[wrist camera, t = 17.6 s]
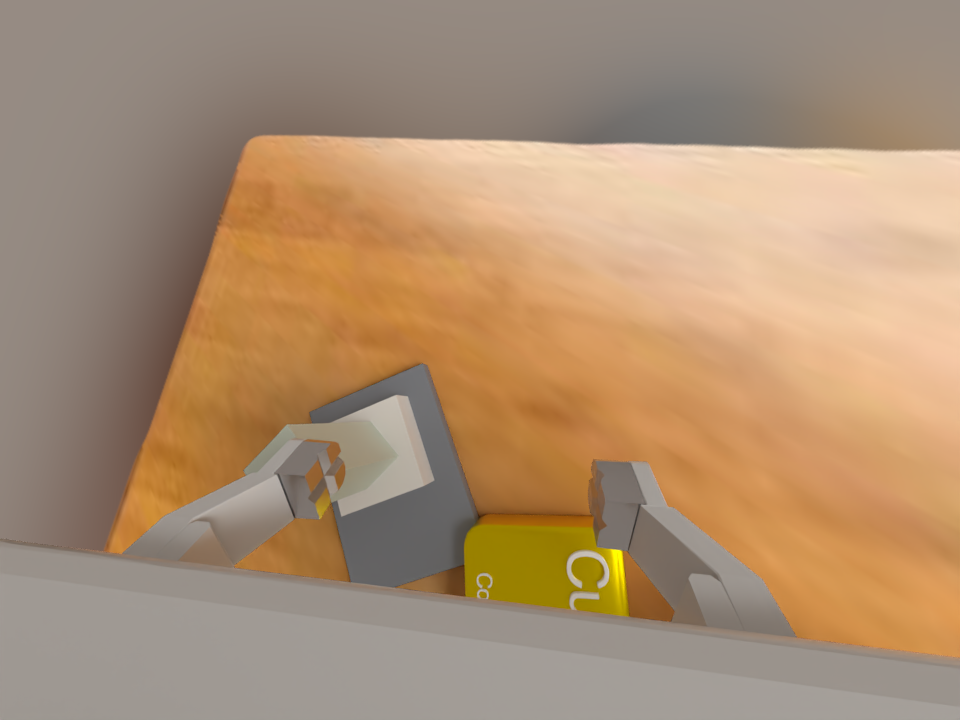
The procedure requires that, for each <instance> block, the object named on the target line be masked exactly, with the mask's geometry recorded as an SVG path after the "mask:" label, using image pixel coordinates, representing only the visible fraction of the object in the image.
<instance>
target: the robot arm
mask: <svg viewBox="0 0 960 720" xmlns="http://www.w3.org/2000/svg"><path fill="white" fill-rule="evenodd" d="M340 452H341V449H340V446H339V443H337V442H334V441H323V440H312V439H298V438H293V439H290V440H289V441H288V442H287V443H286V444H285V445H284V446H283V447H282V448H281V449H280V450H279V451H278V452H277V453H276V454H275V455H274V456H273V457H272V458H271V459H270V460H269V461H268V462H267V463H266V464H265V465H264V466H263V467H262V468H261V469H260V470H259V471H258V472H257V473H251V474H249V475H246V476H244V477H242V478H240V479H238V480H236V481H234V482H232V483H230V484H228V485H226V486H224V487H222V488H220V489H218V490H216V491H214V492H212V493H210V494H208V495H206V496H204V497H202V498H200V499H198V500H196V501H194V502H192V503H190V504H188V505H186V506H183V507H181V508H179V509H177V510H175V511H173V512H171V513H169V514H167V515H165V516H164V517H163V518H161V519H160V520H159V521H158V522H157V523H156V524H155V525H154V526H152V527H151V528H150V529H149V530H148V531H147V532H146V533H145V534H143V535H142V536H141V537H140V538H139V539H138V540H137V541H136V542H134V543H133V544H132V545H131V546H130V547H129V548H128V549H127V550H125V551H124V552H123V553H122V554H119V553H111V552H102V551H93V550H86V549H78V548H70V547H62V546H54V545H46V544H38V543H29V542H22V541H15V540H9V539H0V720H960V658H959V657H950V656H942V655H934V654H926V653H918V652H910V651H901V650H893V649H885V648H877V647H869V646H861V645H852V644H844V643H836V642H828V641H820V640H812V639H804V638H797V637H796V635H795V633H794V632H793V630H792V628H791V627H790V625H789V623H788V622H787V620H786V618H785V617H784V615H783V613H782V611H781V610H780V608H779V606H778V605H777V603H776V601H775V600H774V598H773V596H772V595H771V593H770V591H769V590H768V588H767V586H766V585H765V583H764V581H763V580H762V579H761V578H760V577H759V576H757V575H756V574H755V573H754V572H753V571H751V570H750V569H749V568H748V567H746V566H745V565H744V564H743V563H741V562H740V561H739V560H738V559H737V558H735V557H734V556H733V555H732V554H730V553H729V552H728V551H727V550H725V549H724V548H723V547H722V546H721V545H719V544H718V543H717V542H716V541H714V540H713V539H712V538H711V537H709V536H708V535H707V534H706V533H704V532H703V531H702V530H701V529H700V528H698V527H697V526H696V525H695V524H693V523H692V522H691V521H690V520H688V519H687V518H686V517H685V516H684V515H682V514H681V513H680V512H679V511H677V510H676V509H675V508H674V507H668V506H667V504H666V501H665V499H664V497H663V495H662V492H661V490H660V488H659V486H658V483H657V481H656V479H655V477H654V474H653V472H652V470H651V468H650V465H649V464H648V463H647V462H639V461H617V460H600V459H593V462H592V466H591V472H592V476H593V478H591V479H590V480H589V487H588V502H589V509H590V513H591V514H592V515H593V516H594V521H593V531H594V536H595V541H596V546H597V547H599V548H607V549H614V550H622V551H629V552H628V553H629V554H630V556H631V557H632V558H633V559H634V561H635V562H636V563H637V564H638V566H639V567H640V568H641V569H642V571H643V572H644V573H645V574H646V576H647V577H648V578H649V579H650V581H651V582H652V583H653V584H654V586H655V587H656V588H657V589H658V591H659V592H660V593H661V594H662V596H663V597H664V598H665V599H666V601H667V602H668V603H669V605H670V606H671V607H672V608H673V610H674V611H675V613H674V615H673V618H672V620H671V622H667V621H659V620H651V619H643V618H635V617H627V616H619V615H611V614H603V613H595V612H587V611H578V610H570V609H562V608H554V607H546V606H538V605H530V604H522V603H513V602H505V601H497V600H489V599H481V598H473V597H464V596H456V595H448V594H440V593H432V592H424V591H416V590H408V589H400V588H392V587H384V586H376V585H368V584H360V583H352V582H344V581H336V580H328V579H320V578H312V577H304V576H296V575H288V574H280V573H272V572H264V571H255V570H247V569H239V568H235V567H234V565H235V564H237V563H238V562H239V561H240V560H242V559H243V558H244V557H246V556H247V555H248V554H250V553H251V552H252V551H254V550H255V549H256V548H257V547H259V546H260V545H261V544H263V543H264V542H265V541H267V540H268V539H269V538H271V537H272V536H273V535H275V534H276V533H277V532H278V531H280V530H281V529H282V528H284V527H285V526H286V525H288V524H289V523H290V522H292V521H293V520H294V518H305V519H319V520H320V519H321V517H322V516H323V514H324V513H325V511H326V509H327V508H328V506H329V505H330V503H331V497H330V496H331V495H333V494H334V493H336V492H337V491H339V489H340V487H341V486H342V484H343V481H344V478H345V464H344V461H343V460H342V459H341V458H340V457H339V456H338V455H339V454H340Z"/></svg>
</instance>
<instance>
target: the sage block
mask: <svg viewBox="0 0 960 720" xmlns="http://www.w3.org/2000/svg"><path fill="white" fill-rule="evenodd" d="M293 438H298V439H312V440H323V441H334V442H337V443H339V446H340V449H341V452H340V454H339V455H338V456H339V457H340V458H341V459H342V460H343V461H344V464H345V478H344V481H343V484H342V486H341V487H340V489H339V491H337V492H336V493H334V494H333V495H331V496H330V497H331V503H332V502H334V501H337V500H340V499H342V498H345V497H348V496H350V495H353V494H355V493H358V492H361V491H363V490H366V489H367V488H368V487H369V486H370V485H371V484H372V483H373V482H374V481H375V480H376V479H377V478H378V477H379V476H380V475H381V474H382V473H383V472H384V471H385V470H386V469H387V468H388V467H389V466H390V465H391V464H392V463H393V462H394V461H395V460H396V459H397V458H398V457H399V456H398V454H397V453H396V452H395V451H394V450H393V448H392V447H391V446H390V445H389V443H388V442H387V441H386V440H385V438H384V437H383V436H382V435H381V434H380V432H379V431H378V430H377V429H376V427H375V426H374V425H373V424H372V423H371V422H347V423H317V424H287V425H286V426H285V427H284V428H283V429H282V430H281V431H280V432H279V434H278V435H277V436H276V437H275V438H274V439H273V440H272V441H271V442H270V443H269V444H268V445H267V446H266V447H265V448H264V449H263V450H262V451H261V452H260V453H259V455H258V456H257V457H256V458H255V459H254V460H253V461H252V462H251V463H250V464H249V465H248V466H247V467H246V468H245V469H244V470H243V471H244V473H245V474H246V475H249V474H251V473H257V472H258V471H259V470H260V469H261V468H262V467H263V466H264V465H265V464H266V463H267V462H268V461H269V460H270V459H271V458H272V457H273V456H274V455H275V454H276V453H277V452H278V451H279V450H280V449H281V448H282V447H283V446H284V445H285V444H286V443H287V442H288V441H289V440H290V439H293Z"/></svg>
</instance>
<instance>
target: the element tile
mask: <svg viewBox="0 0 960 720" xmlns="http://www.w3.org/2000/svg"><path fill="white" fill-rule="evenodd" d="M593 521H594V516H573V515H521V514H487V515H484V516H482V517H480V518H479V519H478V520H477V521H476V523H475V524H474V525H473V526H472V527H471V528H470V530H469V531H468V532H467V535H466V538H465V541H464V567H465V597H473V598H481V599H489V600H497V601H505V602H513V603H522V604H530V605H538V606H546V607H554V608H562V609H570V610H578V611H587V612H595V613H603V614H611V615H619V616H627V617H630V615H629V606H628V596H627V586H626V577H625V567H624V557H623V551H622V550H614V549H607V548H599V547H597V546H596V541H595V536H594V531H593Z"/></svg>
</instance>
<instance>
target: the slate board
mask: <svg viewBox="0 0 960 720" xmlns="http://www.w3.org/2000/svg"><path fill="white" fill-rule="evenodd" d="M309 413H310V417H311V421H312V424H317V423H347V422H371V423H372V424H373V425H374V426H375V427H376V429H377V430H378V431H379V432H380V434H381V435H382V436H383V437H384V438H385V440H386V441H387V442H388V443H389V445H390V446H391V447H392V448H393V450H394V451H395V452H396V453H397V454H398V456H399V457H398V458H397V459H396V460H395V461H394V462H393V463H392V464H391V465H390V466H389V467H388V468H387V469H386V470H385V471H384V472H383V473H382V474H381V475H380V476H379V477H378V478H377V479H376V480H375V481H374V482H373V483H372V484H371V485H370V486H369V487H368V488H367V489H366V490H363V491H361V492H358V493H355V494H353V495H350V496H348V497H345V498H342V499H340V500H337V501H334V502H332V506H333V510H334V514H335V518H336V523H337V527H338V531H339V535H340V539H341V543H342V547H343V551H344V555H345V559H346V563H347V567H348V571H349V575H350V580H351V582H352V583H360V584H368V585H376V586H384V587H392V588H394V587H397V586H400V585H403V584H406V583H409V582H412V581H415V580H418V579H421V578H424V577H427V576H430V575H434V574H437V573H440V572H443V571H446V570H449V569H452V568H455V567H458V566H461V565H464V541H465V538H466V535H467V532H468V531H469V530H470V528H471V527H472V526H473V525H474V524H475V523H476V521H477V520H478V519H479V516H478V513H477V510H476V507H475V504H474V501H473V498H472V496H471V493H470V490H469V487H468V484H467V481H466V478H465V475H464V472H463V469H462V466H461V463H460V460H459V457H458V454H457V451H456V448H455V446H454V443H453V440H452V437H451V434H450V431H449V428H448V425H447V422H446V419H445V416H444V413H443V410H442V407H441V404H440V401H439V399H438V396H437V393H436V390H435V387H434V384H433V381H432V378H431V375H430V372H429V369H428V366H427V365H425V364H423V363H422V364H420V365H418V366H415V367H413V368H411V369H408V370H406V371H404V372H401V373H399V374H397V375H395V376H392V377H390V378H388V379H385V380H383V381H381V382H378V383H376V384H374V385H371V386H369V387H367V388H364V389H362V390H360V391H357V392H355V393H353V394H350V395H348V396H346V397H344V398H341V399H339V400H337V401H334V402H332V403H330V404H327V405H325V406H323V407H320V408H318V409H316V410H313V411H311V412H309Z"/></svg>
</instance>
